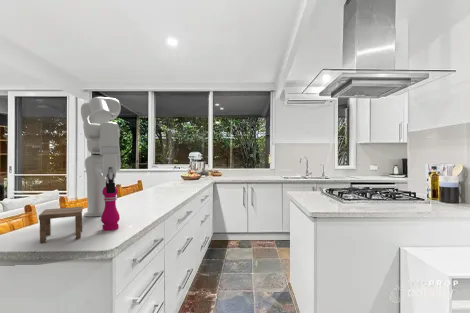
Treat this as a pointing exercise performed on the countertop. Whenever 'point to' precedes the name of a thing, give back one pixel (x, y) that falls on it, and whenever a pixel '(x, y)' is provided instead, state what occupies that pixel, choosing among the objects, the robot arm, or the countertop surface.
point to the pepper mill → (110, 211)
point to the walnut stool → (59, 213)
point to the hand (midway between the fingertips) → (110, 192)
